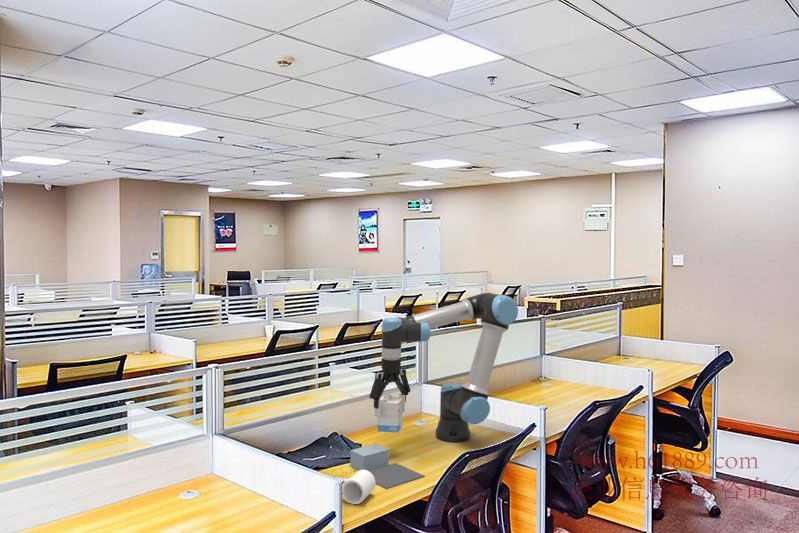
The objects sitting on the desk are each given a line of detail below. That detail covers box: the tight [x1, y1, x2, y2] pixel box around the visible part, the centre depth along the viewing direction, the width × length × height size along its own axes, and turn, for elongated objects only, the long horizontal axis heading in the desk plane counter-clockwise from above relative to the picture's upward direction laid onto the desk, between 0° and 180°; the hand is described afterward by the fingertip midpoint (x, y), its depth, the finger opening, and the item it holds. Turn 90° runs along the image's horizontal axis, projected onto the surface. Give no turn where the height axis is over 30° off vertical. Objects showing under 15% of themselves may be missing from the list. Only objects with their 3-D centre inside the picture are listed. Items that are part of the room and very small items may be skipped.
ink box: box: [377, 392, 404, 434], centre depth 242 cm, size 9×8×13 cm
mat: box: [369, 462, 425, 490], centre depth 224 cm, size 18×16×1 cm
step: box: [349, 443, 390, 471], centre depth 233 cm, size 12×8×6 cm, turn 131°
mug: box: [342, 470, 376, 505], centre depth 204 cm, size 12×10×8 cm
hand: (390, 413), depth 242 cm, fingers closed on ink box, 12 cm apart
